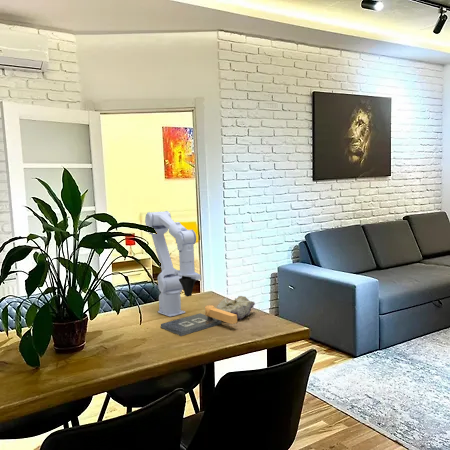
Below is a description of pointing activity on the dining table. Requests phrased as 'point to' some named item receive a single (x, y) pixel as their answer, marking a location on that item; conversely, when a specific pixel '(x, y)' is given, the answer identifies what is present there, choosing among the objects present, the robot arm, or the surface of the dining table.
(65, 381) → the dining table surface
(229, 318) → the orange rectangular block
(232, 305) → the geode
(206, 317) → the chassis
